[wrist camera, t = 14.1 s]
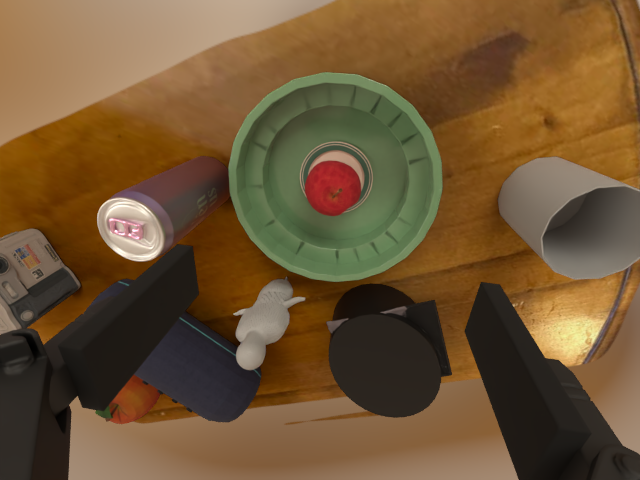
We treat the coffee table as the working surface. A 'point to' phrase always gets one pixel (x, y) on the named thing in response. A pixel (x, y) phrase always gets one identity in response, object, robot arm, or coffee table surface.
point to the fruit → (131, 402)
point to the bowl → (312, 131)
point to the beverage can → (163, 208)
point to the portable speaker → (196, 368)
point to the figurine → (264, 322)
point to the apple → (336, 178)
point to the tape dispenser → (387, 350)
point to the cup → (573, 217)
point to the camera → (30, 279)
